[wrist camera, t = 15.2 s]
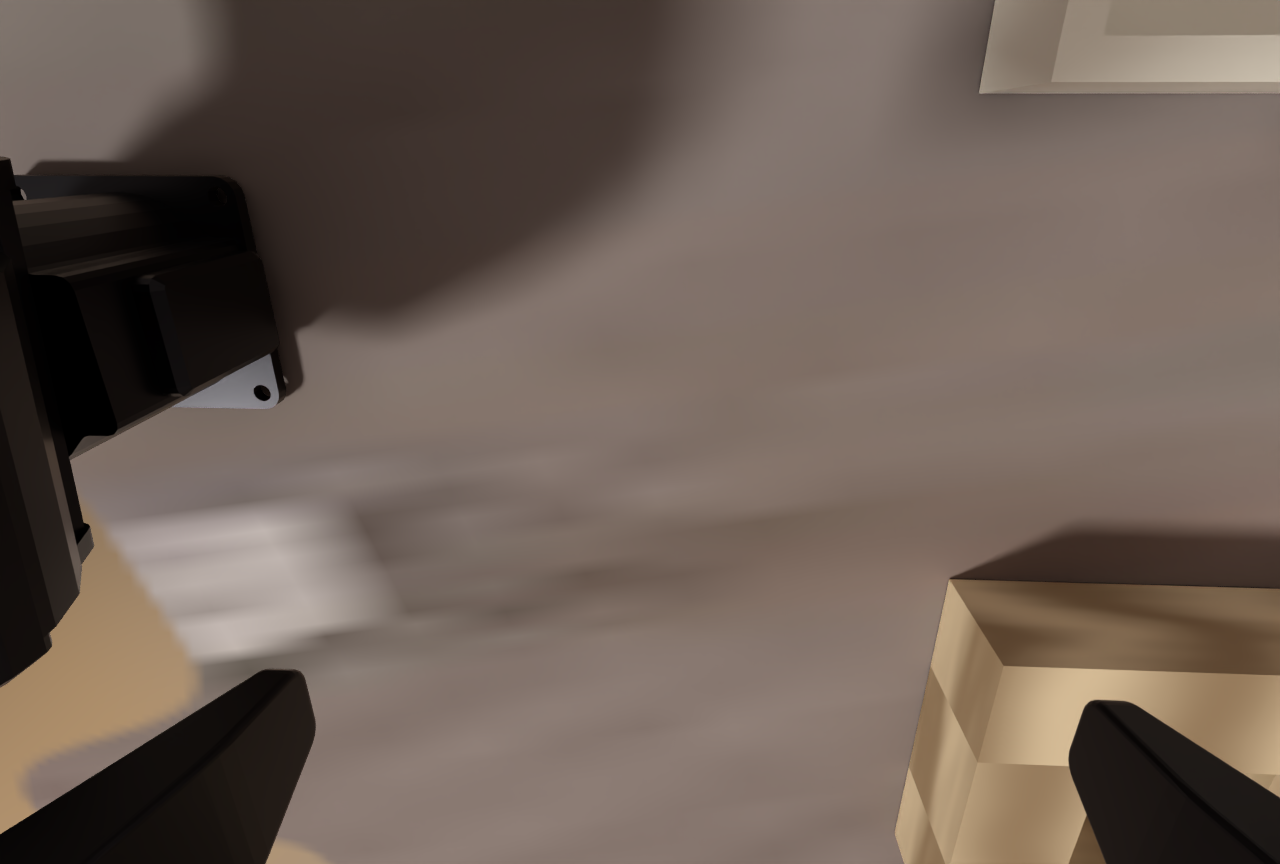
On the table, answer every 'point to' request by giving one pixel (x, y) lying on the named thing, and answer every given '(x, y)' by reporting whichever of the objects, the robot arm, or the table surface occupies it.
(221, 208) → the robot arm
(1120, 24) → the tray
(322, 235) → the table surface
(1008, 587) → the block
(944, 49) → the table surface
